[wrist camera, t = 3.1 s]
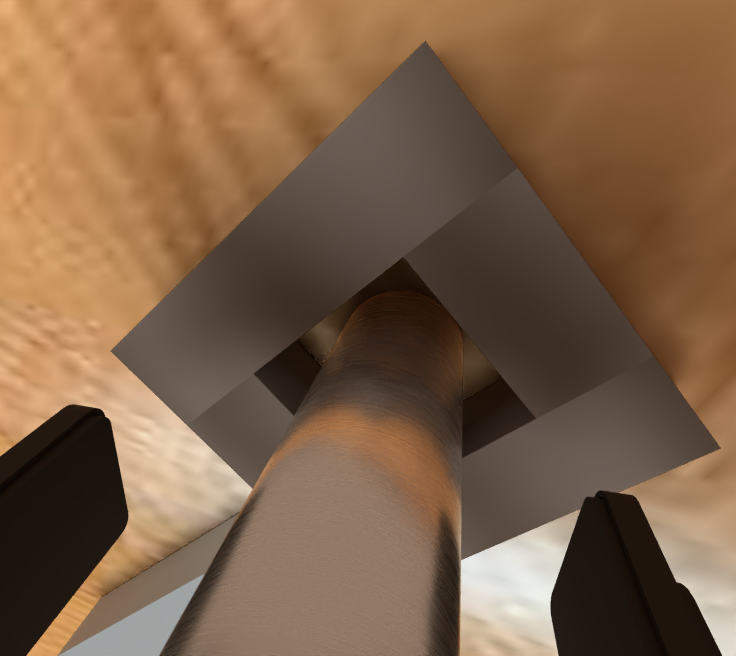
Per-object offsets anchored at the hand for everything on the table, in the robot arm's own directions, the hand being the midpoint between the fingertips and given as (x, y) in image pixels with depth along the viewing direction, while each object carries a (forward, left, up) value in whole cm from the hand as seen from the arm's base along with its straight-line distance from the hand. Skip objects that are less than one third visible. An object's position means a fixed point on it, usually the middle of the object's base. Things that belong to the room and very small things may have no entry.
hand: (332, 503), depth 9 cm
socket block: (0, 0, -7) cm, 7 cm away
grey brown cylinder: (0, 0, -7) cm, 7 cm away
